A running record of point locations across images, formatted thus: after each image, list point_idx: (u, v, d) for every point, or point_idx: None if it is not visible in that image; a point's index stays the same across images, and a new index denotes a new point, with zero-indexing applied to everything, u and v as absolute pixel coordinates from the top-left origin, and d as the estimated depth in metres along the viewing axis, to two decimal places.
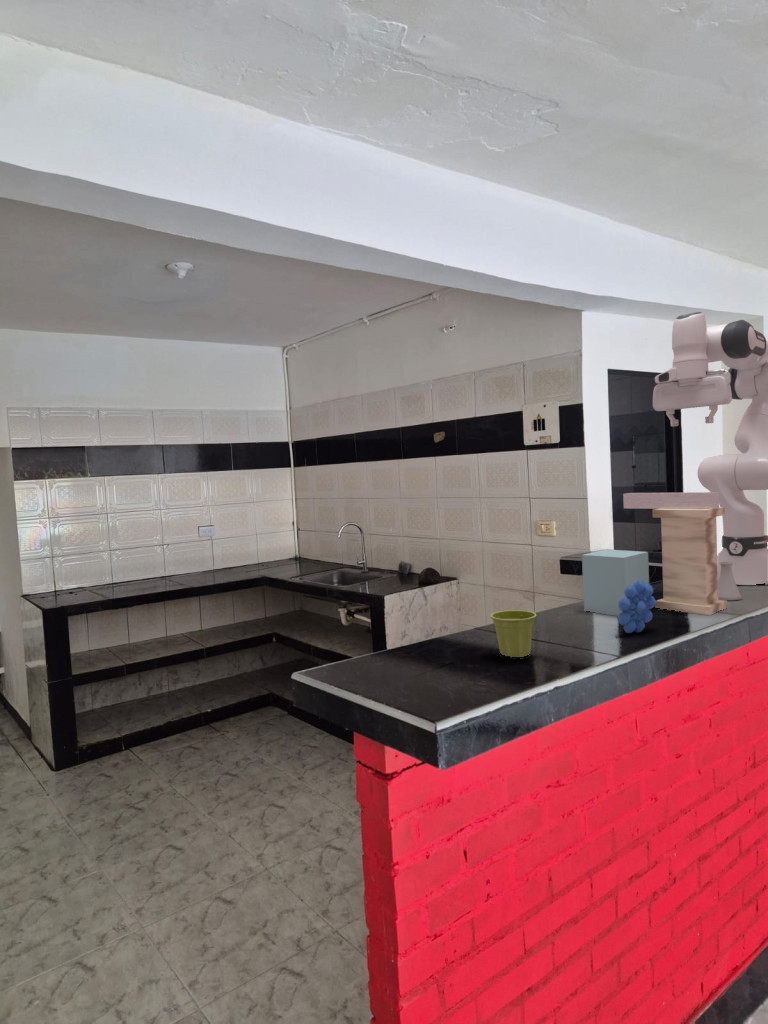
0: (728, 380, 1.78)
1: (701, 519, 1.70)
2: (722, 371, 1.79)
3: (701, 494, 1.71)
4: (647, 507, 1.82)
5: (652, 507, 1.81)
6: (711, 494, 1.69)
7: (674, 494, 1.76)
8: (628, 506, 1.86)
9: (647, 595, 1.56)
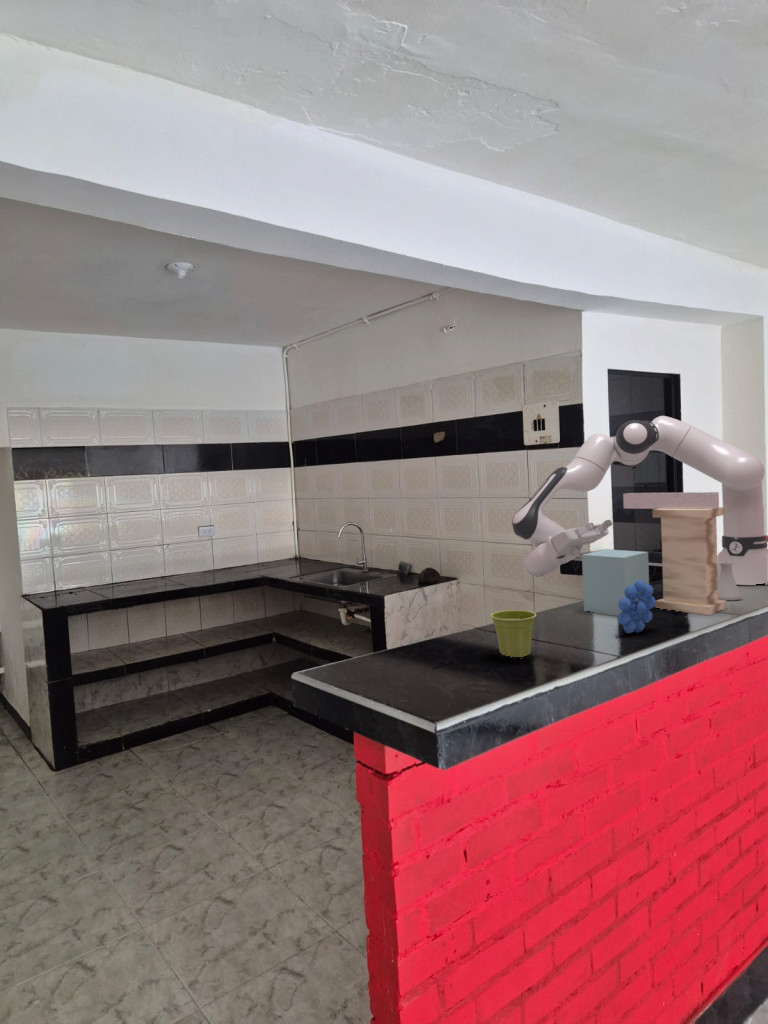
0: None
1: (701, 519, 1.70)
2: None
3: (701, 494, 1.71)
4: (647, 507, 1.82)
5: (652, 507, 1.81)
6: (711, 494, 1.69)
7: (674, 494, 1.76)
8: (628, 506, 1.86)
9: (647, 595, 1.56)
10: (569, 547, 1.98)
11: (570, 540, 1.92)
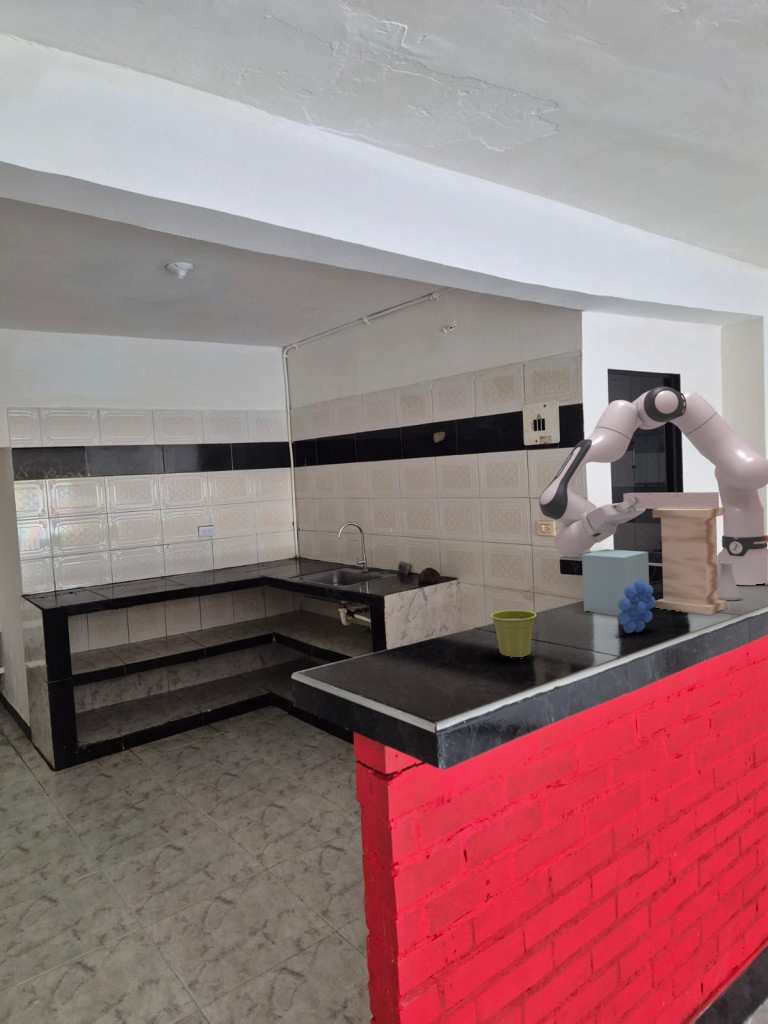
0: None
1: (701, 519, 1.70)
2: None
3: (701, 494, 1.71)
4: (647, 507, 1.82)
5: (652, 507, 1.81)
6: (711, 494, 1.69)
7: (674, 494, 1.76)
8: None
9: (647, 595, 1.56)
10: (605, 524, 1.89)
11: (607, 516, 1.82)
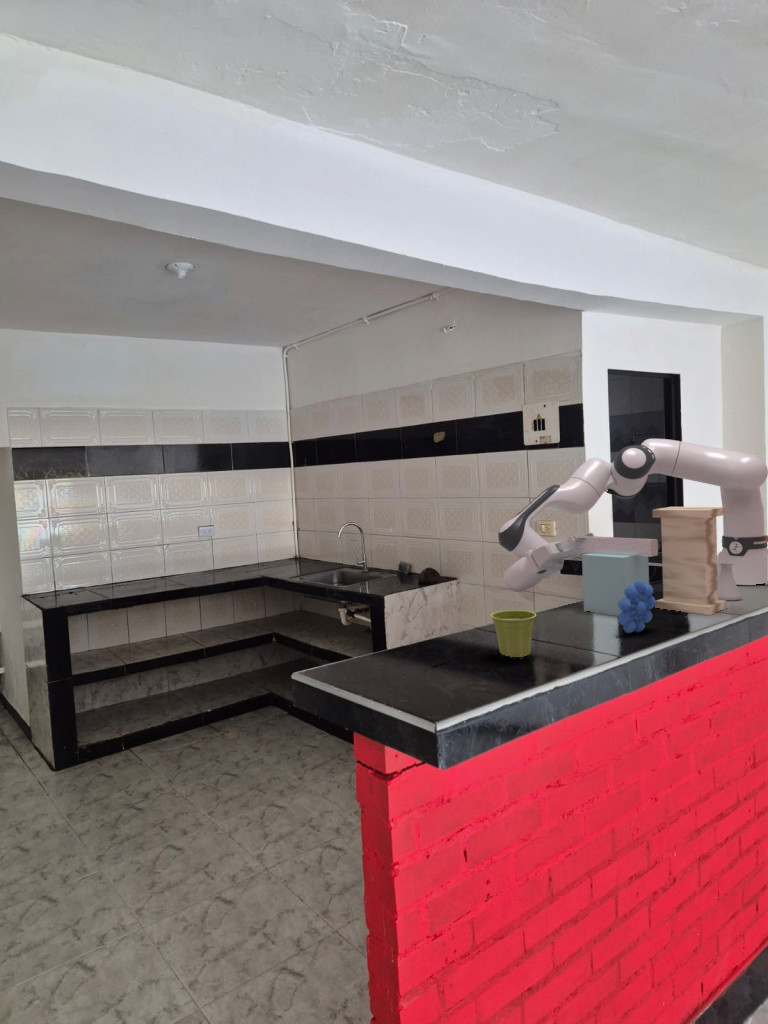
0: None
1: (701, 519, 1.70)
2: None
3: (640, 541, 1.71)
4: (590, 551, 1.83)
5: (594, 551, 1.81)
6: (649, 542, 1.70)
7: (615, 540, 1.77)
8: (572, 549, 1.87)
9: (647, 595, 1.56)
10: (550, 562, 1.89)
11: (550, 555, 1.83)
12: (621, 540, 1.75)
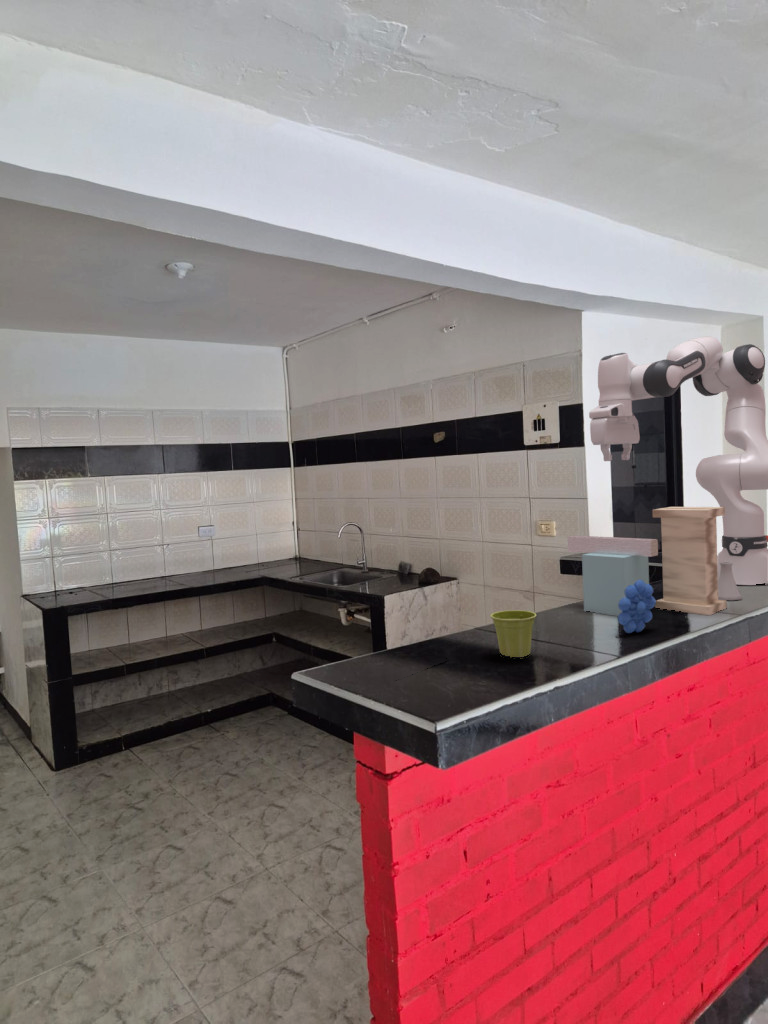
0: None
1: (701, 519, 1.70)
2: (632, 414, 1.98)
3: (640, 541, 1.71)
4: (590, 551, 1.83)
5: (594, 551, 1.81)
6: (649, 542, 1.70)
7: (615, 540, 1.77)
8: (572, 549, 1.87)
9: (647, 595, 1.56)
10: None
11: (592, 442, 1.88)
12: (621, 540, 1.75)
